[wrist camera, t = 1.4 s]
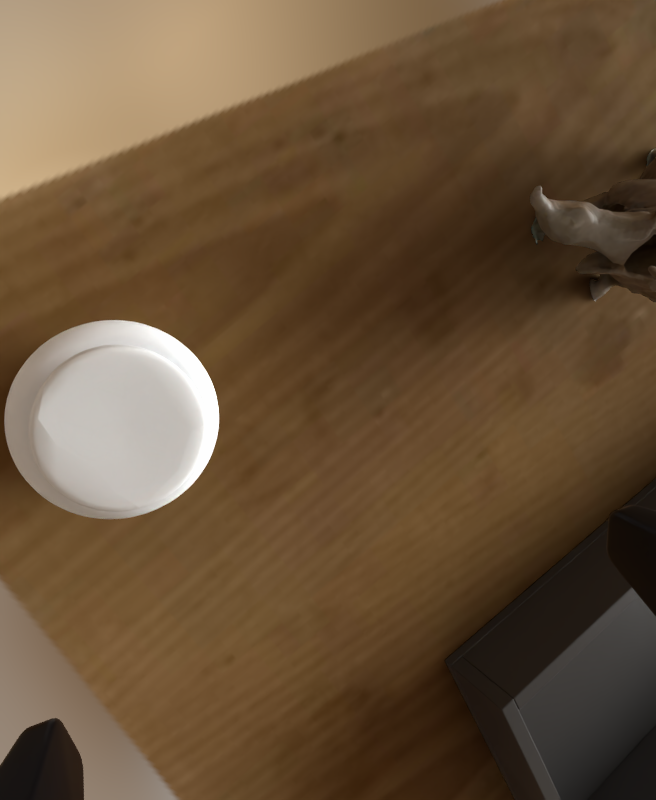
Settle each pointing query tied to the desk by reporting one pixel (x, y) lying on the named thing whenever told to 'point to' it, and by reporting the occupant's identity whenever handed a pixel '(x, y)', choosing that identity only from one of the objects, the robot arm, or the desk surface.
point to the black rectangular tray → (569, 681)
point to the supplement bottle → (111, 419)
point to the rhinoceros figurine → (608, 232)
